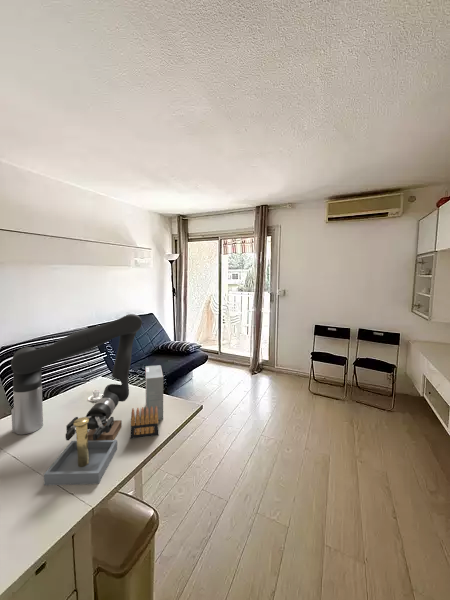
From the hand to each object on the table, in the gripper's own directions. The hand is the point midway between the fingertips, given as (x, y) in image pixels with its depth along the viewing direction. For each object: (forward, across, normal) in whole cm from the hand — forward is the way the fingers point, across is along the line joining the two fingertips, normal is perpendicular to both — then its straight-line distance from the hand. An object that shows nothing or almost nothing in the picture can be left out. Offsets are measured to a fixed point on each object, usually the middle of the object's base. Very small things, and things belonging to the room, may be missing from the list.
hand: (80, 437), depth 83 cm
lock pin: (-2, 0, +10) cm, 10 cm away
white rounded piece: (-48, -18, +12) cm, 53 cm away
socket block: (-19, 0, +11) cm, 22 cm away
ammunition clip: (-18, +16, +11) cm, 27 cm away
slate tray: (-2, 0, +11) cm, 11 cm away
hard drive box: (-36, +16, +11) cm, 41 cm away
